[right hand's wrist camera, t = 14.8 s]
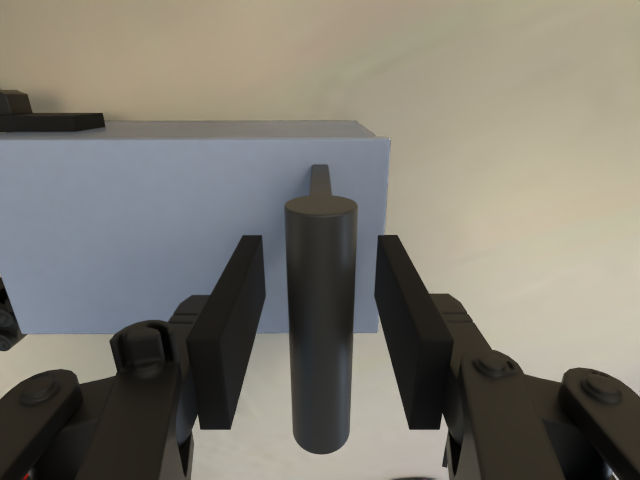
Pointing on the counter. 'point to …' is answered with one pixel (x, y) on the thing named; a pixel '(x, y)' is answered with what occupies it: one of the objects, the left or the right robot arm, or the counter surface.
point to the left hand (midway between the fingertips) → (110, 216)
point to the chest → (212, 129)
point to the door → (202, 242)
